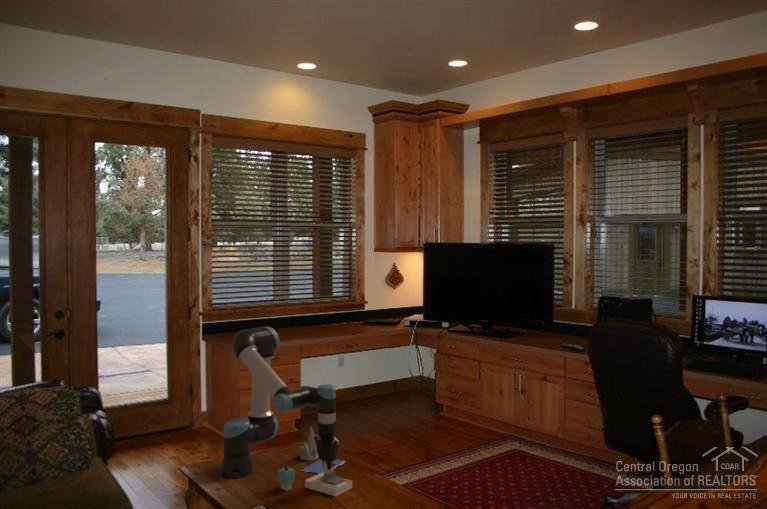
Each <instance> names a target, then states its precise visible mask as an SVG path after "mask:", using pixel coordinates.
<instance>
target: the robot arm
mask: <svg viewBox="0 0 767 509" xmlns="http://www.w3.org/2000/svg"><path fill="white" fill-rule="evenodd" d="M231 345H232V346H231V347H232V352H233V355H234V356H235V358H236V359H237V361H239V363H242V364H243V365H245V366H246V367H247V369H249V371H250V372H251V410H250V411H249V412H248V413H247V417H239V418H233V419H229V420H228V421H226V422H225V423H224V425H223V433H222V436H223V438H222V439H223V457H222V460H221V465H220V467H219V474H220V476H221V477H224V478H228V479H237V478H245V477H247V476H250V475H252V474H253V473H254V472H255V467H254V463H253V459H252V457H251V451H250V450H251V446H254V445H257V444H261V443H265V442H268V441H269V440H271V439H273V438H274V437H275V436H276V435H277V433H278V430H279V421H278V420H277V417H276V416H275V415H274V412H273V410H271V397H272V398H273V399H272V405H273V406H274V410H275V411H277V412H278V413H286V412H290V411H293V410H296V409H300V408H304V407H307V406H314V407H317V421H318V422H317V431H318V434H317V435H316V436H314V439H315V442H316V446H317V452H318V457H319V459H318V460H320V459H321V460H322V462H323V469H324V474H326V473H328V472H330V470H331V468H332V462H333V461H335V460H336V459H337V454H338V450H339V449H338V448H339V444H340V442H341V440H340V439H338V438H337V437H336V434H335V432H336V426H337V425H336V418H337V417H336V398H337V396H336V388H335V386H334V385H333V384H327V383H326V384H320V385H318V387H313V386H310V385H301V386H300V387H298V388H297V389H296V390H295V389H294V390H291V389H290V387H288V385H287V384H286V383H285V382H284V381H283V380H282V379H281V377H280V376H279V375H278V374H277V372H276V371H275V370H274V369H273V368H272V367H271V365H272V364H271V363H272V362H271V360H272V359H273V358H274V356H275V351H277V349H278V348H279V346H280V338H279V334H278V332H277V331H276V330H275V329H274V328H272V327H271V326H259V327H253V328H245V329H242V330H240V331H239V332H237V333H236V334H235V336H234V337H233V340H232V344H231Z"/></svg>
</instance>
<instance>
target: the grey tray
mask: <svg viewBox="0 0 767 509" xmlns="http://www.w3.org/2000/svg"><path fill="white" fill-rule="evenodd" d="M343 479H344V481H343V482H341V483H339V484H337V485H331V484H328V483H324V473H320V474H318V475H317V474H315V475H314V476H311V477H309V478H307V479H305V480H304V488H306V489H310V490H311V491H312V490H313V491H316V492H318V493H319V492H320V493H323V494H327V495H330V496H333V497H338V496H340V495H341V494H344V493H345V492H347V491H349V490H351V489H353V480H350V479H346V478H343Z"/></svg>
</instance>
